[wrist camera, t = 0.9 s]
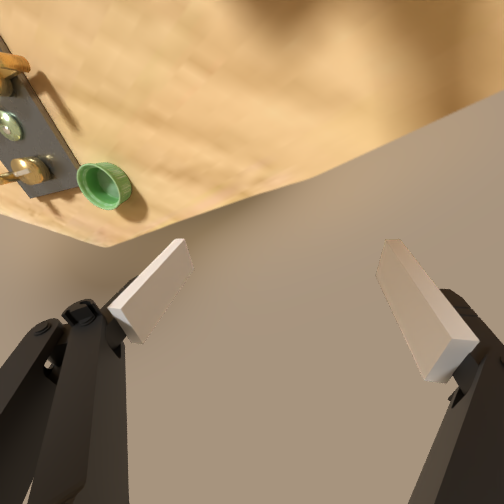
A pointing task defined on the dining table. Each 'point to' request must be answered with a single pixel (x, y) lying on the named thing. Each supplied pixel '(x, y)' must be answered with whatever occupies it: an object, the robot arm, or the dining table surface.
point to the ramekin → (104, 184)
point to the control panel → (34, 138)
